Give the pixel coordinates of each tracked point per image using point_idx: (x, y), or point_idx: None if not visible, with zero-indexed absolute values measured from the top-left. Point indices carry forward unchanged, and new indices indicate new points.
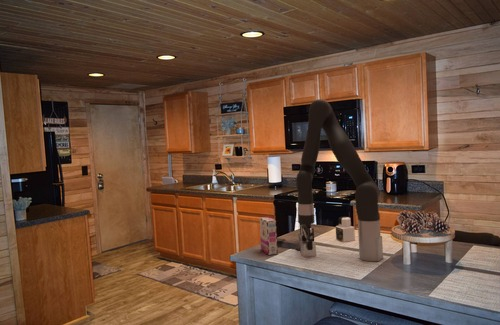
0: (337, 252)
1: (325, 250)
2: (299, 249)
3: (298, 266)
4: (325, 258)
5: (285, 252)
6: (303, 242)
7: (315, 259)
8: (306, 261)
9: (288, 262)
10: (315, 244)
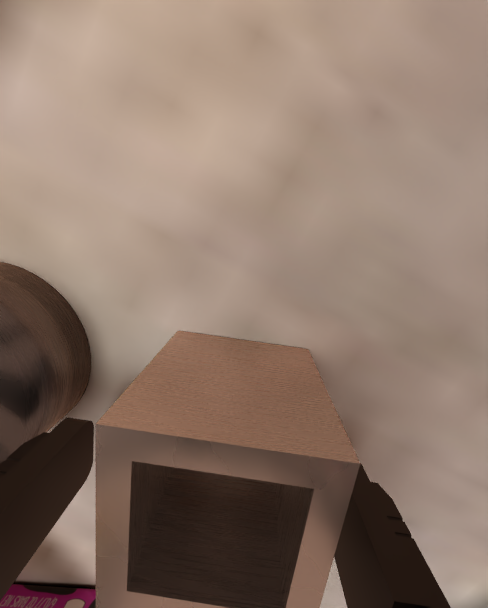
0: (326, 37)
1: (167, 149)
2: (59, 419)
3: (480, 590)
4: (446, 308)
5: (72, 523)
6: (199, 602)
7: (408, 408)
8: (408, 495)
9: (342, 603)
10: (350, 442)
